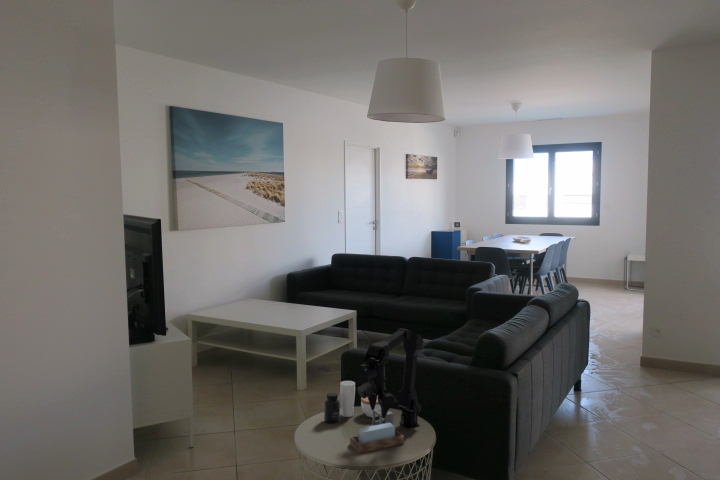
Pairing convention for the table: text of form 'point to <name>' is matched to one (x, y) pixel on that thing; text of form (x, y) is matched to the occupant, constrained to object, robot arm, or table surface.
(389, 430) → the pale blue rectangular pillar
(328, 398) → the supplement bottle
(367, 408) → the lidded jar
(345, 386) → the white cylinder
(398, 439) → the tray
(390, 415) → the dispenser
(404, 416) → the robot arm
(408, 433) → the table surface
